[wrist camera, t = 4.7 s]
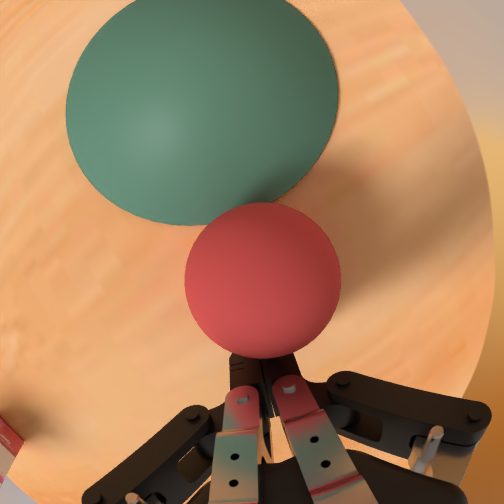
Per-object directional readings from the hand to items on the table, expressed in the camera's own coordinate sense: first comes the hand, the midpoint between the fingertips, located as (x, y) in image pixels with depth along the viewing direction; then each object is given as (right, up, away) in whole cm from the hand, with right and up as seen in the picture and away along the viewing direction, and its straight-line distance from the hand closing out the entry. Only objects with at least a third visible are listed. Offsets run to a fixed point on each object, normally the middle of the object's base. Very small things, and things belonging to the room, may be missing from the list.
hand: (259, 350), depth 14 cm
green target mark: (-3, +13, -2) cm, 13 cm away
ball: (0, +4, -2) cm, 5 cm away
